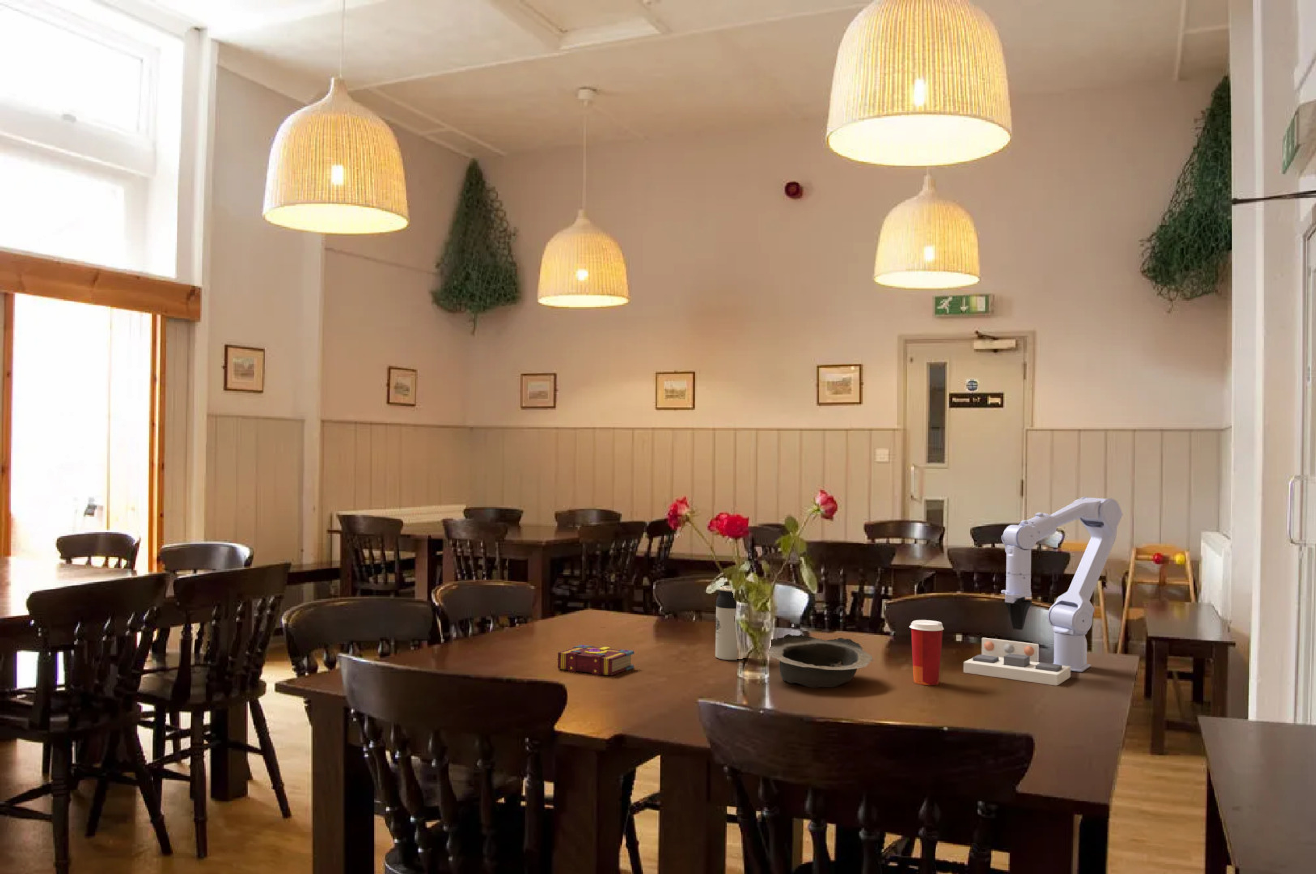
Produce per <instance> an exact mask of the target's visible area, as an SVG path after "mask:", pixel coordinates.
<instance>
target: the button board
mask: <svg viewBox="0 0 1316 874" xmlns="http://www.w3.org/2000/svg"><path fill="white" fill-rule="evenodd" d="M1039 663H1040V662H1031V661H1030V665H1029V666H1027V667H1025V668H1024V667H1016V666H1009V665H1004V658H1000V657H999V661H997V662H995V663H986V662H979V661H973V657H972V658H970V659H968V660H965V661H963V673H964V674H972V675H980V676H986V677H992V678H993V677H994V678H1000V679H1007V680H1014V681H1020V682H1021V681H1023V682H1030V683H1036V684H1043V685H1050V686H1056V687H1057V686H1059V685H1060V684H1062V683H1063V682H1065V681H1066V680H1068V679H1070V678H1071V672H1072V671H1071V667H1070V666H1062V670H1060V671H1058V672H1054V671H1046V670H1039V669H1036V665H1037V664H1039Z"/></svg>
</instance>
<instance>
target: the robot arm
mask: <svg viewBox="0 0 1316 874" xmlns="http://www.w3.org/2000/svg"><path fill="white" fill-rule="evenodd" d="M1122 517H1123V512H1122V509H1121V506H1120V503H1119V502H1118V500H1116V499H1114V498H1108V497H1107V498H1100V497H1099V498H1098V497H1089V496H1082V497H1081V498H1078V499H1074V501H1073V502H1071V503H1069V504H1068V505H1065V506H1064V507H1062V508H1060V509H1059V510H1057V511H1054V512H1053V513H1051V514H1049V513H1047V512H1040V511H1039V512H1037V513H1035V514H1034V516H1033V517H1032V518H1029V519H1027V520H1025V519H1023V520H1021V521H1020V523H1019V524H1010V525H1008V526H1006V528H1005V529H1004V531H1003V534H1002V535H1001V541H1002V544H1003V545H1004V551H1005V553H1006V560H1005V561H1006V563H1005V564H1006V566H1005V567H1006V568H1005V571H1006V573H1005V576H1006V578H1005V579H1006V580H1005V589H1002V590H1001V591H1000V592H1001V594H1005V595H1004V596H1005V597H1004V605H1005V606H1006V609H1007V611H1008V613H1009V617H1010V622H1011V627H1012V630H1020V631H1021V630H1024V626H1025V623H1026V619H1027V615H1028V611H1029V609H1030V607H1031V605H1032V604H1033V600H1032V599H1026V598H1031V597H1032V589H1031V587H1032V586H1031V585H1032V583H1031V582H1032V581H1031V579H1032V572H1031V571H1032V549H1033V548H1034V547H1035V546H1036V544H1037V542H1040V541H1041V540H1044V539H1046V538H1048V537H1050V536H1052V535H1055V533H1056V531H1057V528H1059V527H1061V526H1063V525H1066V524H1069V523H1071V522H1074V521H1076V520H1079V521H1080V522H1081V523H1082V525H1083V527H1084V528H1085V530H1086V531H1087V532H1088V533H1089V536H1090V539H1089V540H1088V543H1087V546H1086V548H1085V550H1084V552H1083V555H1082V557H1081V559H1080V562H1079V565H1078V567H1077V569H1076V571H1075V573H1074V576H1073V578H1072V580H1071V583H1070V585H1069V588H1068V589H1067V591H1066V592H1064V593H1062V594H1061V595H1058V597H1057V598H1056V600H1055V602H1054V603H1053V604H1052V605H1051V606H1050V607H1049V609H1048V611H1047V620H1048V623H1049V624H1050V626H1052V631H1053V662H1052V664H1057V665H1062V666H1070V667H1071V672H1078V673H1079V672H1080V673H1083V672H1084V671H1086V670H1087V669H1089V668H1090V667H1091V666H1092V664H1090V663H1088V657H1087V656H1088V642H1087V638H1086V635H1087V634H1088V631H1089V630H1090V629H1091V627H1092V625H1093V616H1094V615H1093V614H1094V613H1095V607H1094V606H1093V603H1092V602H1091V601H1090V600H1091V598H1092V596H1093V593H1094V591H1095V588H1096V586H1097V584H1098V582H1099V580H1100V576H1101V575H1102V573H1103V570H1104V567H1105V566H1106V563H1107V560H1108V559H1109V556H1110V553H1111V551H1112V548H1113V547H1114V545H1115V542H1116V539H1117V534H1118V533H1117V532H1118V526H1119V523H1120V522H1121V519H1122Z"/></svg>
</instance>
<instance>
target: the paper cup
mask: <svg viewBox="0 0 1316 874" xmlns="http://www.w3.org/2000/svg"><path fill="white" fill-rule="evenodd" d="M909 628H910V630H911V631H910V632H911V653H912V655H911V656H912V672H913V676H912V677H913V683H914V684H918V685H923V686H937V685H939V680H940V673H941V671H940V670H941V669H940V668H941V656H942V647H943V646H942V645H943V630H945V628H944V627H943V623H942V622H941V621H937V620H930V619H928V620H927V619H916V620H913V621H912V622H910V625H909Z"/></svg>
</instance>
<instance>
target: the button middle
mask: <svg viewBox="0 0 1316 874" xmlns="http://www.w3.org/2000/svg"><path fill="white" fill-rule="evenodd" d="M1004 665H1009V666H1016V667H1024V668H1025V667H1027V666H1029V665H1030V656H1027V655H1019V654H1011V653H1010V654H1008V655H1005V656H1004Z"/></svg>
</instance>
